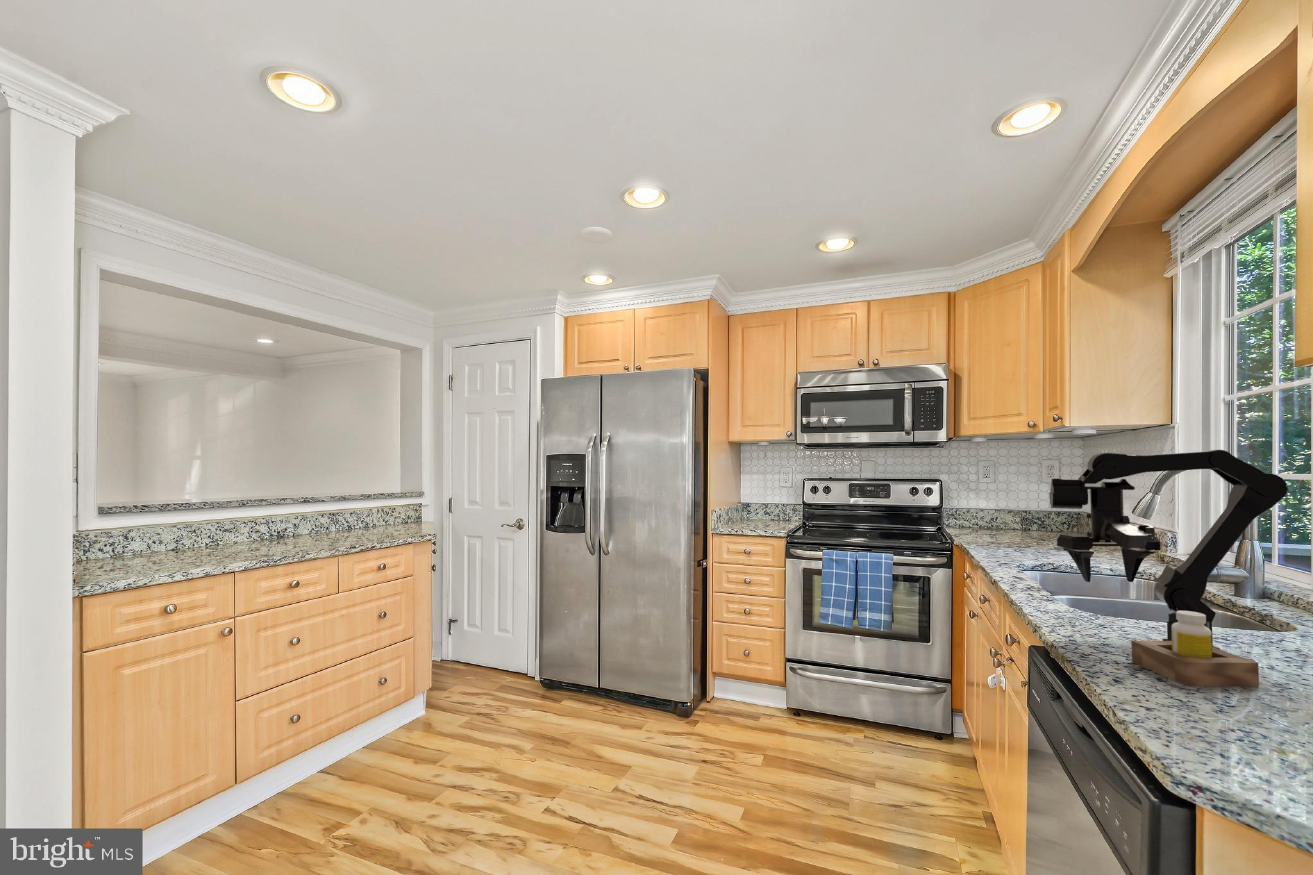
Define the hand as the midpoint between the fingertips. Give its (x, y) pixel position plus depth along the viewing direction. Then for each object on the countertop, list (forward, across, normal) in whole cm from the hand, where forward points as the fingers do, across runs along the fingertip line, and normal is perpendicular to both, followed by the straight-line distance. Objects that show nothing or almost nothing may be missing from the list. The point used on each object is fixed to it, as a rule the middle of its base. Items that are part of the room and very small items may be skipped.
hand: (1108, 581), depth 128 cm
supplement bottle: (+11, -1, -21) cm, 24 cm away
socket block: (+12, -2, -21) cm, 25 cm away
